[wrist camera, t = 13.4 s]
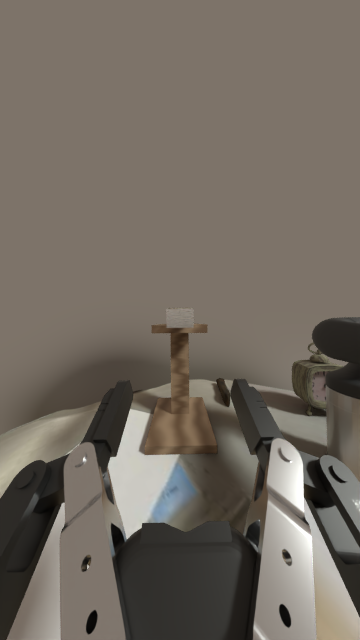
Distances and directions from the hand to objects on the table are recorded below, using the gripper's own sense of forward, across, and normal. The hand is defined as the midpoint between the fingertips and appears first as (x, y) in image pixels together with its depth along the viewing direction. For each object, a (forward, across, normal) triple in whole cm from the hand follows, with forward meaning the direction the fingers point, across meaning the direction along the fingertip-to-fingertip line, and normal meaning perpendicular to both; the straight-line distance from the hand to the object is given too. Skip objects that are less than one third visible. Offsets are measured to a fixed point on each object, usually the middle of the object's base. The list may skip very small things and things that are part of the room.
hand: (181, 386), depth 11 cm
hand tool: (+31, -20, +50) cm, 62 cm away
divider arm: (+22, 0, +8) cm, 24 cm away
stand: (+17, 0, +42) cm, 45 cm away
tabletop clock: (+20, -50, +44) cm, 69 cm away
